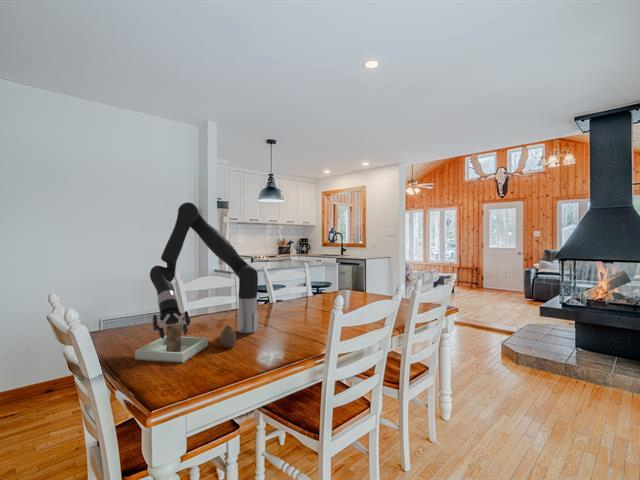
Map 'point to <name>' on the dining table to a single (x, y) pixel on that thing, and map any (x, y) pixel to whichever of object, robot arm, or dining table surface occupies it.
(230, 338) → the grey rounded egg shape
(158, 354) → the sage tray
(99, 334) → the dining table surface
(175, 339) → the walnut block
